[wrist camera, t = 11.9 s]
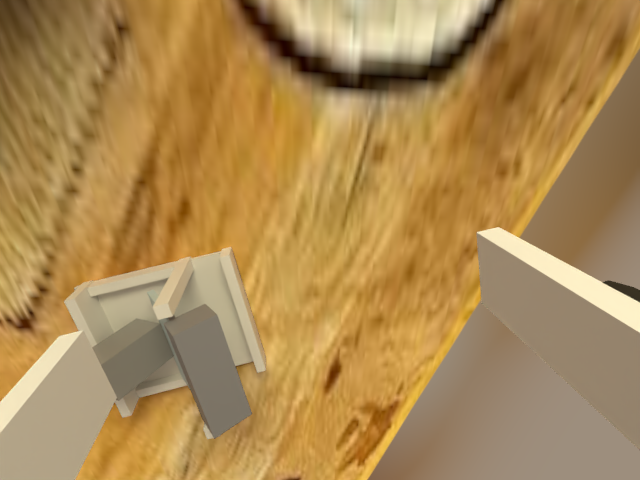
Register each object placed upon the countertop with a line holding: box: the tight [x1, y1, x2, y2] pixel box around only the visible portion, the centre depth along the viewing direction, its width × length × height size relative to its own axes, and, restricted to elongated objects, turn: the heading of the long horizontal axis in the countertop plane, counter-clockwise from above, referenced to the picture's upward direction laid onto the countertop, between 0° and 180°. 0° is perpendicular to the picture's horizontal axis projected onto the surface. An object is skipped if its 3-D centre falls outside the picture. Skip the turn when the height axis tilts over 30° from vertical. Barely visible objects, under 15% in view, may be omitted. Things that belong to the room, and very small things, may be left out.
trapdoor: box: [147, 290, 252, 439], centre depth 45 cm, size 13×14×4 cm
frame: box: [64, 247, 266, 439], centre depth 47 cm, size 18×20×12 cm
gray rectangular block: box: [92, 319, 174, 401], centre depth 48 cm, size 5×5×8 cm
